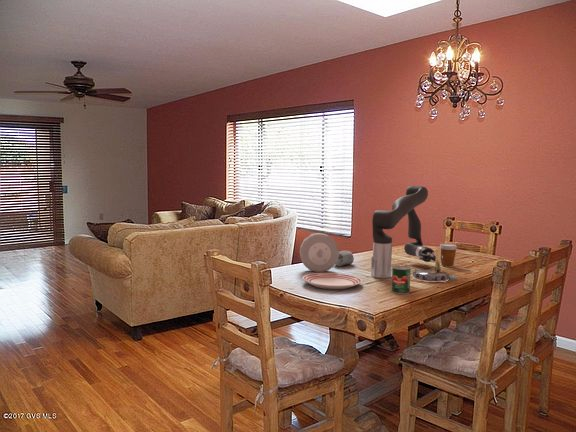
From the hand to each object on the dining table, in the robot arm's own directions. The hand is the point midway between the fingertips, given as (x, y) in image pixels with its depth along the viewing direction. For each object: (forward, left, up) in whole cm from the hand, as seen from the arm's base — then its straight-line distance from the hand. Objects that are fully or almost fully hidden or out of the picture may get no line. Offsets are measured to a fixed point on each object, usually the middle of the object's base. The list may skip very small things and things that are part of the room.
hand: (438, 260), depth 233 cm
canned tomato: (-28, -29, -9) cm, 41 cm away
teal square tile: (+6, -5, -8) cm, 11 cm away
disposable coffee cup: (+17, +26, -9) cm, 32 cm away
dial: (-58, +13, -9) cm, 61 cm away
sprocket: (-5, -5, -8) cm, 11 cm away
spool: (-42, +29, -9) cm, 52 cm away
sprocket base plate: (-5, -5, -8) cm, 11 cm away
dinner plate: (-56, -15, -9) cm, 59 cm away
